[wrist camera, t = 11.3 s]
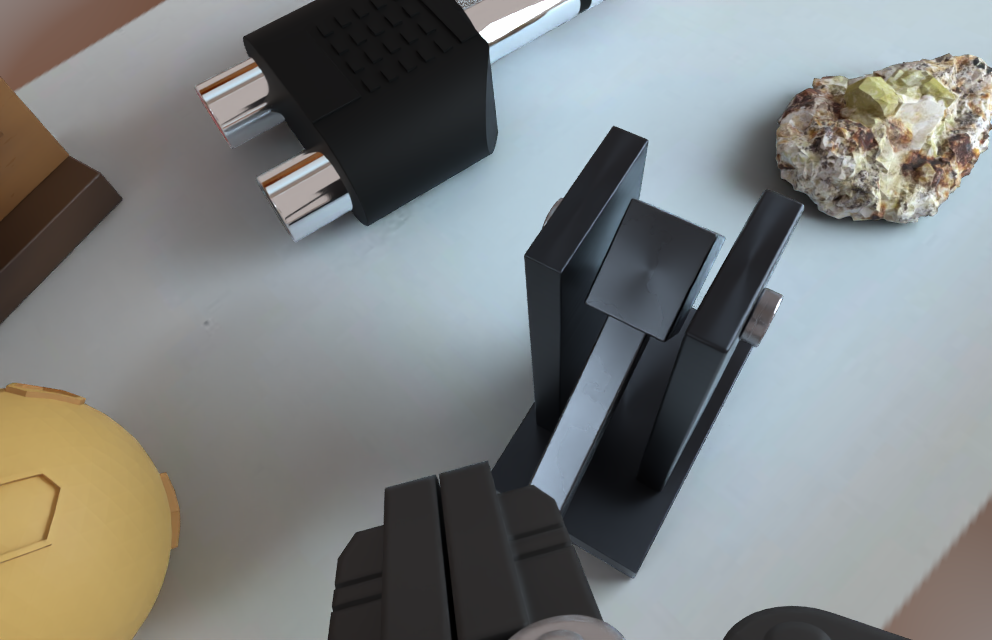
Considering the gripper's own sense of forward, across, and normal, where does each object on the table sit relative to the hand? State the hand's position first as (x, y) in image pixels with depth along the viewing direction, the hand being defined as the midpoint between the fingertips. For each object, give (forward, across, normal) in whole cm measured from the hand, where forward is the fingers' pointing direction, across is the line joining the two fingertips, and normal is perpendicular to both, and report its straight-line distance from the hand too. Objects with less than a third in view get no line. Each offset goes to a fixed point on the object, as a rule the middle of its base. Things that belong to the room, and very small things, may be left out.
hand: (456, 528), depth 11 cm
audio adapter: (+30, +5, +6) cm, 31 cm away
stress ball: (+16, -14, -8) cm, 23 cm away
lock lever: (+10, +4, -4) cm, 11 cm away
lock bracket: (+16, +6, -7) cm, 19 cm away
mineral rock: (+23, +21, -1) cm, 31 cm away
